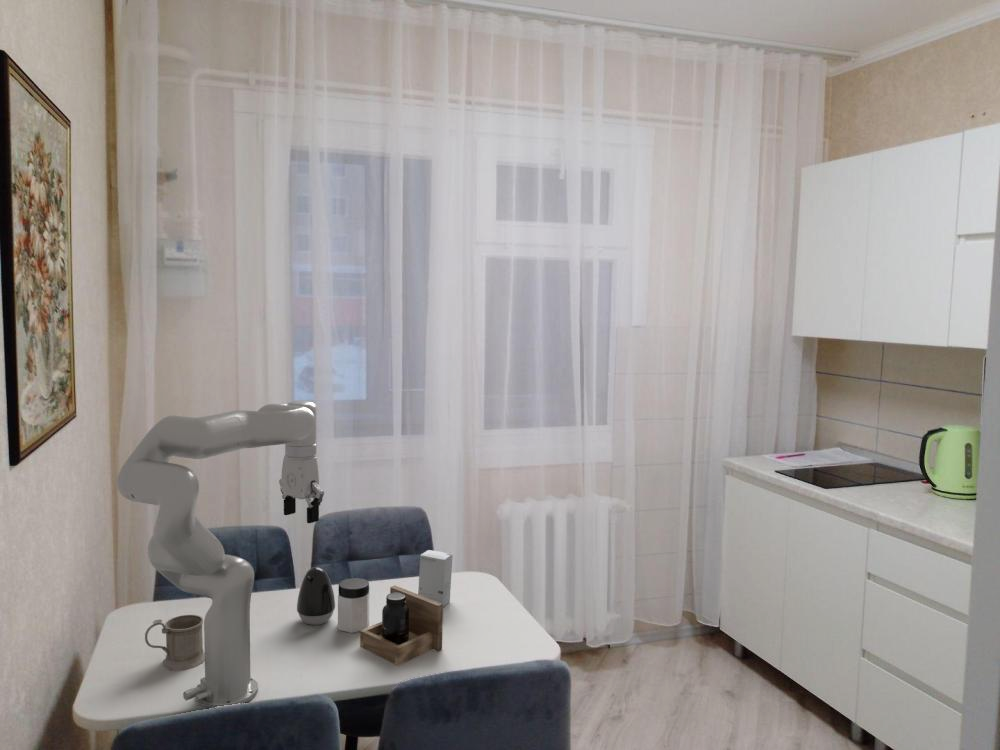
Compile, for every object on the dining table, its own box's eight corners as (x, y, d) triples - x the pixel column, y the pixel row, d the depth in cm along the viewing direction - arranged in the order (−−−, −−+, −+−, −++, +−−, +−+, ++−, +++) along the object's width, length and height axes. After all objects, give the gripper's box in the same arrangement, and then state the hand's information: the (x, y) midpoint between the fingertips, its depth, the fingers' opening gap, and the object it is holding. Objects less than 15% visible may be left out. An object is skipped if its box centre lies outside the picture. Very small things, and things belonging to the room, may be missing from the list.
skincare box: (417, 604, 218) (417, 555, 216) (426, 596, 223) (427, 548, 222) (443, 609, 215) (444, 559, 213) (452, 601, 220) (452, 552, 219)
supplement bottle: (376, 643, 188) (376, 597, 187) (392, 632, 194) (392, 588, 193) (398, 649, 185) (398, 603, 184) (414, 639, 191) (414, 593, 190)
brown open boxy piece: (403, 668, 180) (403, 620, 179) (355, 644, 191) (355, 599, 190) (442, 649, 190) (442, 604, 189) (394, 628, 202) (394, 585, 200)
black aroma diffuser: (289, 626, 201) (289, 572, 199) (308, 611, 211) (308, 559, 210) (324, 631, 199) (324, 576, 197) (341, 615, 209) (341, 563, 207)
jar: (343, 635, 196) (343, 591, 195) (332, 624, 203) (332, 581, 202) (375, 628, 201) (375, 585, 200) (363, 617, 208) (363, 575, 207)
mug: (193, 646, 188) (192, 601, 187) (214, 659, 182) (213, 612, 181) (136, 667, 177) (134, 619, 176) (155, 681, 171) (154, 631, 170)
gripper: (267, 448, 188) (268, 514, 190) (309, 458, 177) (309, 528, 179) (293, 444, 194) (293, 508, 196) (334, 454, 183) (334, 522, 185)
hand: (301, 518), depth 187 cm, fingers open, 9 cm apart
